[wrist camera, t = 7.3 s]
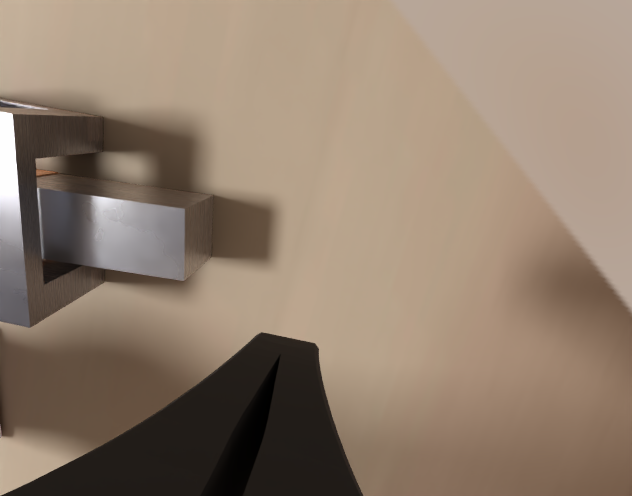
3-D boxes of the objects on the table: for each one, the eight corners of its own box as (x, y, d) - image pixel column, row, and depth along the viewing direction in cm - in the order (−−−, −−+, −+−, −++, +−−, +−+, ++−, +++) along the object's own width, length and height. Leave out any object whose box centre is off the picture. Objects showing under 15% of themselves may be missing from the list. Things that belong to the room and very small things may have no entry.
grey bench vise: (-7, 259, 20) (-112, 297, 15) (-25, 93, 17) (-158, 82, 13) (104, 282, 19) (30, 327, 15) (102, 117, 17) (12, 114, 12)
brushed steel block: (-21, 222, 19) (-90, 240, 16) (-32, 159, 18) (-107, 166, 15) (211, 257, 18) (183, 283, 15) (213, 193, 17) (183, 208, 14)
